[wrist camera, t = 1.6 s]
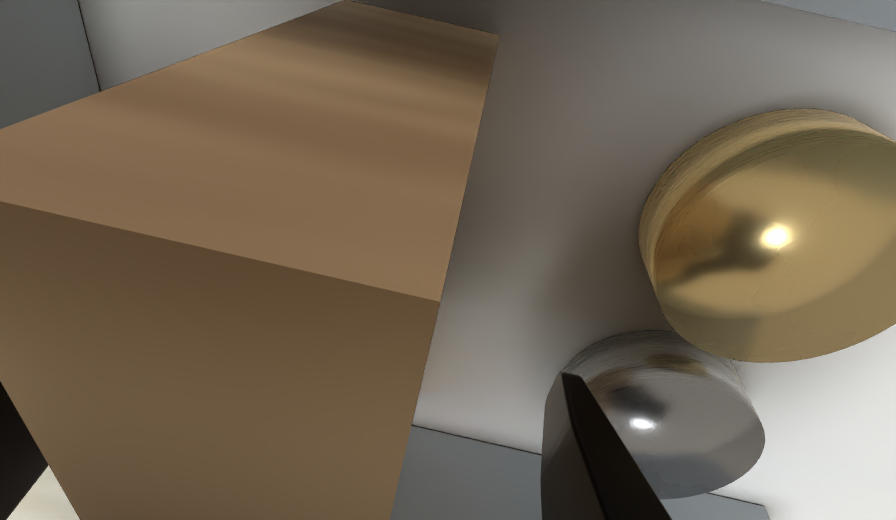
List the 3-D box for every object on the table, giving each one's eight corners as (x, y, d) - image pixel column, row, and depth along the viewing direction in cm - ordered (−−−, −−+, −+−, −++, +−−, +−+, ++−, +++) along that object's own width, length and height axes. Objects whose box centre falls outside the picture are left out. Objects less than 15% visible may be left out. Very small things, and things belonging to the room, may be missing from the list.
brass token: (795, 322, 12) (838, 383, 10) (604, 278, 12) (617, 333, 10) (953, 137, 9) (1048, 182, 7) (701, 79, 9) (740, 111, 7)
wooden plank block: (417, 395, 15) (339, 735, 9) (327, 374, 15) (183, 700, 9) (499, 35, 9) (440, 302, 2) (346, -1, 9) (-120, 173, 2)
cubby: (745, 522, 17) (790, 642, 14) (141, 384, 17) (63, 476, 14) (1324, 29, 7) (1837, 90, 4) (-66, -290, 7) (-442, -433, 4)
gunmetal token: (684, 453, 15) (702, 514, 14) (536, 419, 15) (537, 476, 14) (772, 349, 13) (809, 412, 11) (590, 307, 13) (600, 364, 11)
